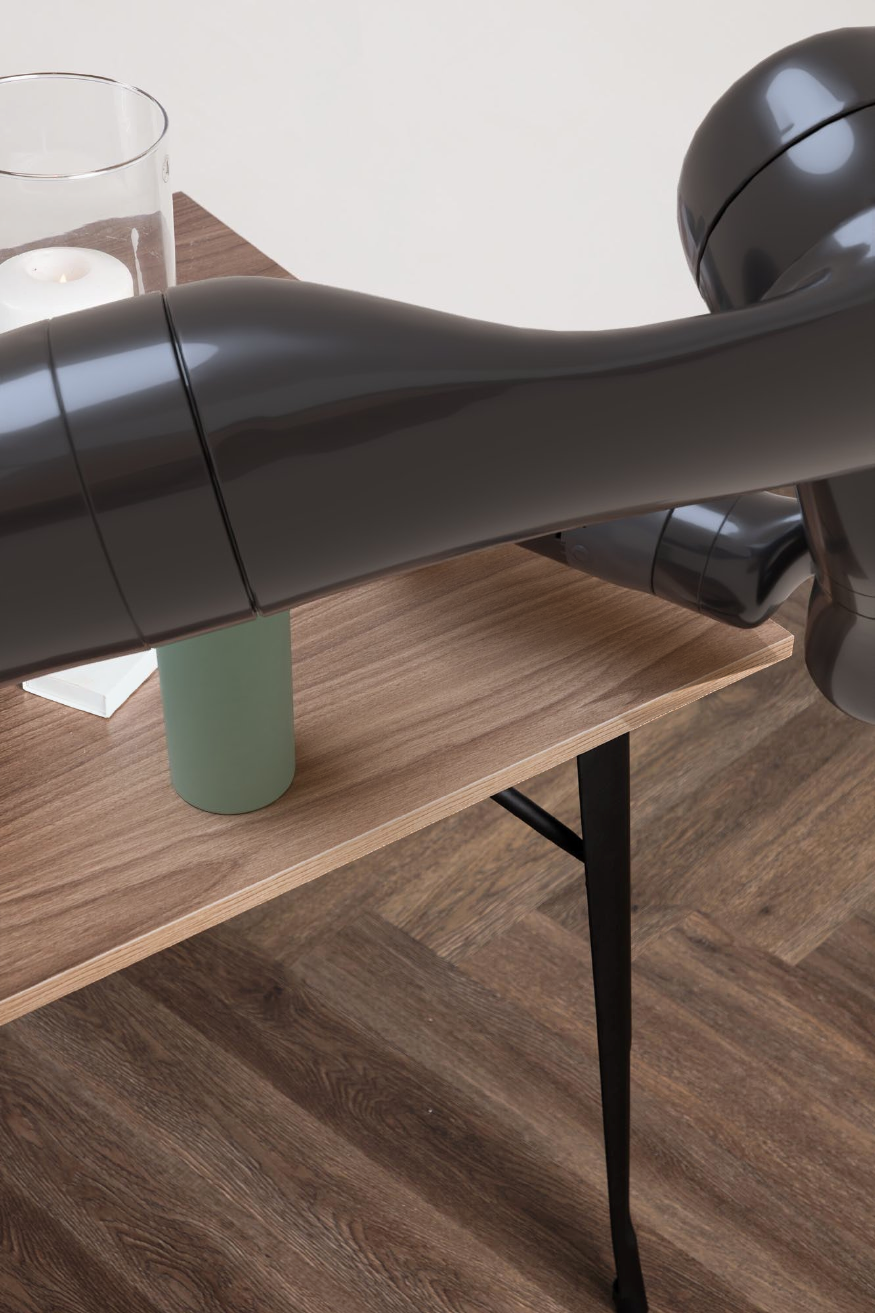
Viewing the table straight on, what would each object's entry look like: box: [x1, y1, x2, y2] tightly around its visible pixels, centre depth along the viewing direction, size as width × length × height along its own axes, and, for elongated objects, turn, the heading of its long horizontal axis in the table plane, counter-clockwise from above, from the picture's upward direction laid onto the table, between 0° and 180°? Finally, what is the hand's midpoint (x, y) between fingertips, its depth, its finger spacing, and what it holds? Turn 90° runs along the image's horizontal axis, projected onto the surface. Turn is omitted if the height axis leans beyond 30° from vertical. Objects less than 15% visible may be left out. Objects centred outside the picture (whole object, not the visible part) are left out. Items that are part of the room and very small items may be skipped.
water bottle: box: [155, 609, 296, 815], centre depth 67 cm, size 6×6×19 cm
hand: (347, 406), depth 82 cm, fingers closed on supplement bottle, 4 cm apart
